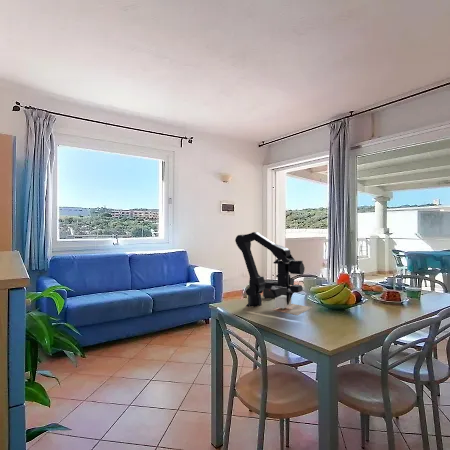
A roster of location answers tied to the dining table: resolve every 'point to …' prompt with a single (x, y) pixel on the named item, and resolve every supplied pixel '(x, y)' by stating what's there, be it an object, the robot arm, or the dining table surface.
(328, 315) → the dining table surface
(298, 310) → the mounting board
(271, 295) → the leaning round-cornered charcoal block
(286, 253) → the robot arm
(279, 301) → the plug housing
